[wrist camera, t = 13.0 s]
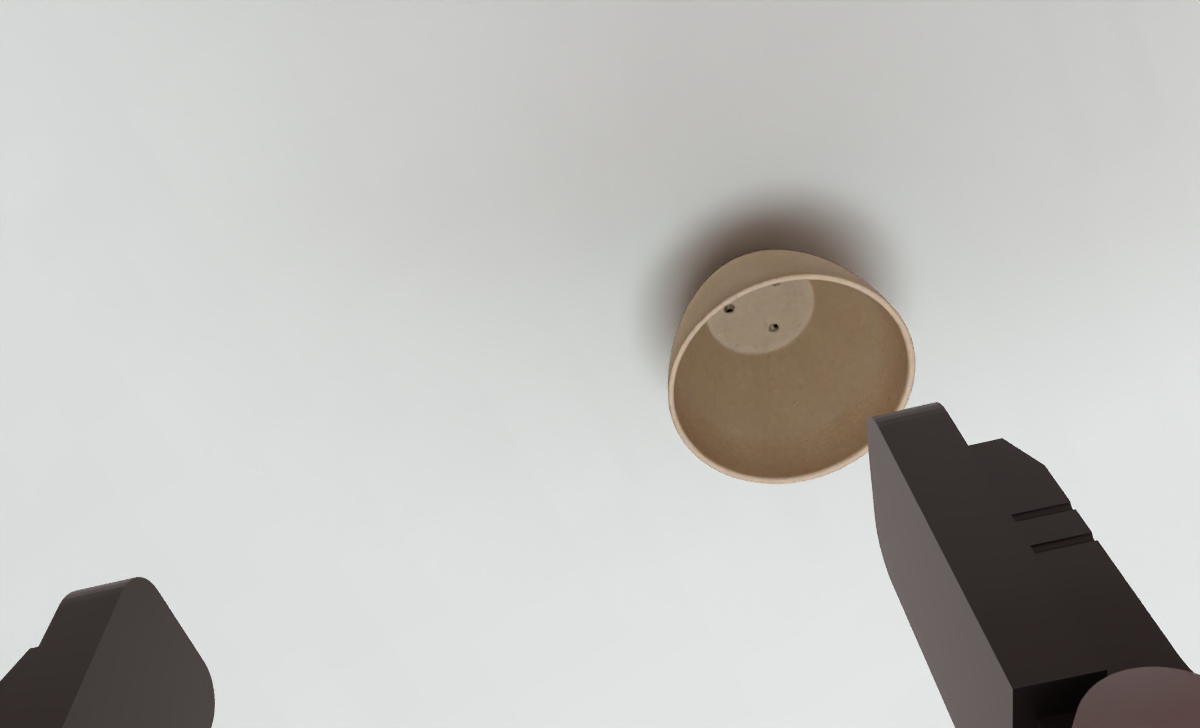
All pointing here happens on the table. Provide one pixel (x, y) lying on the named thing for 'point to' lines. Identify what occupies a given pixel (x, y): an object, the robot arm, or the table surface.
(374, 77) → the table surface
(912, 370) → the flower pot
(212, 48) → the table surface
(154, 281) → the table surface
